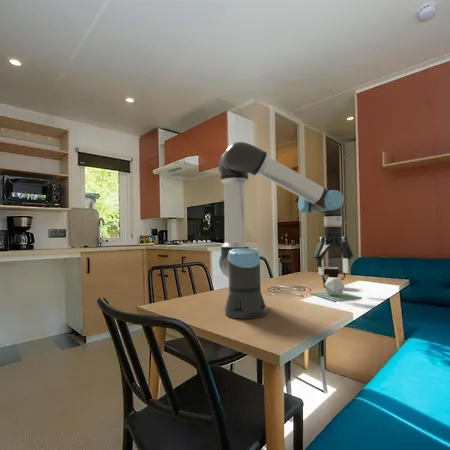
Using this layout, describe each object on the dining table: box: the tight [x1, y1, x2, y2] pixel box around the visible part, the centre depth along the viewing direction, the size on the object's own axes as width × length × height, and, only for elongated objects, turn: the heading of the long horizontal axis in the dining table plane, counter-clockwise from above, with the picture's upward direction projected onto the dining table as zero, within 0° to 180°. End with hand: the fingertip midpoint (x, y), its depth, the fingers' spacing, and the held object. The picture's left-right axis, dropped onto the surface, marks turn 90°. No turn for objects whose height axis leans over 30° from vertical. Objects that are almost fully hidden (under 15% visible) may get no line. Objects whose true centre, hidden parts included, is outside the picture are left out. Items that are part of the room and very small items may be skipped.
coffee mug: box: [321, 266, 346, 289], centre depth 145 cm, size 12×9×10 cm
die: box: [323, 277, 345, 296], centre depth 126 cm, size 8×9×10 cm
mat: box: [314, 291, 363, 302], centre depth 127 cm, size 12×16×1 cm
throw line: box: [310, 292, 337, 303], centre depth 124 cm, size 1×16×1 cm, turn 20°
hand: (333, 273), depth 127 cm, fingers open, 13 cm apart
